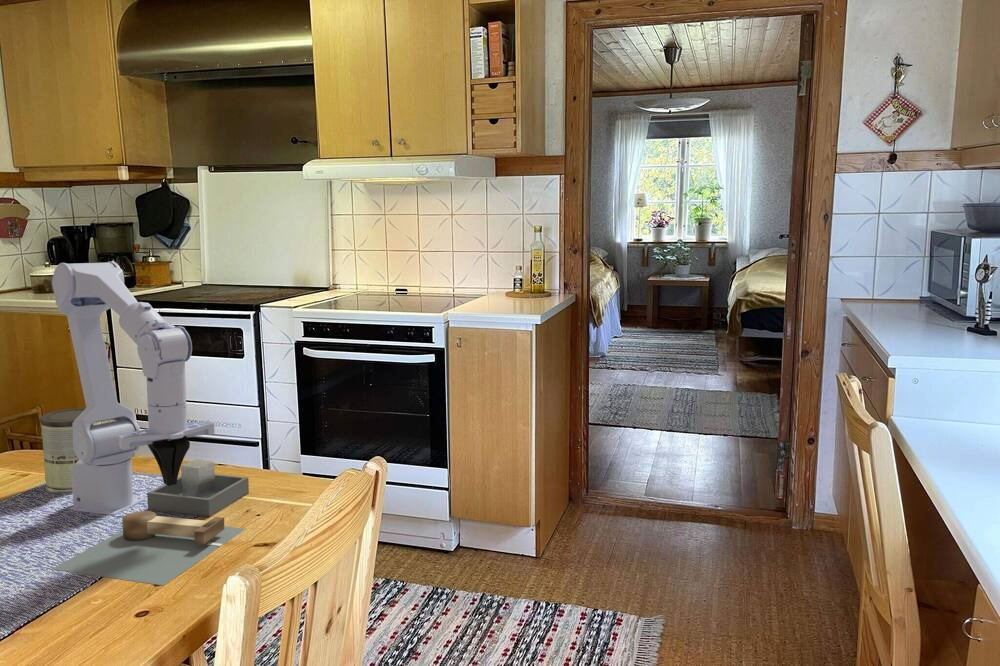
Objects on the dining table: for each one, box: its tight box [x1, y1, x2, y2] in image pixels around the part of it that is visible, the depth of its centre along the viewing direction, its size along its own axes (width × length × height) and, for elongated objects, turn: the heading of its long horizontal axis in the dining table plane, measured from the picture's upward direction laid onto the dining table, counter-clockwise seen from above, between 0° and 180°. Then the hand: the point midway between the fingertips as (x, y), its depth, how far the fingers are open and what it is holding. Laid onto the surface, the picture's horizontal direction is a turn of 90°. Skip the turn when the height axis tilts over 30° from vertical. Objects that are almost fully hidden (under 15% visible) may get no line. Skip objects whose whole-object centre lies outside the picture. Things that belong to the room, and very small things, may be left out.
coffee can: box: [39, 407, 102, 494], centre depth 148 cm, size 10×10×14 cm
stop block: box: [180, 459, 216, 498], centre depth 140 cm, size 4×4×7 cm
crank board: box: [51, 525, 246, 587], centre depth 120 cm, size 19×21×1 cm
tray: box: [146, 473, 250, 518], centre depth 140 cm, size 12×12×4 cm
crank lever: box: [121, 510, 225, 544], centre depth 124 cm, size 16×6×3 cm, turn 80°
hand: (170, 483), depth 125 cm, fingers closed
